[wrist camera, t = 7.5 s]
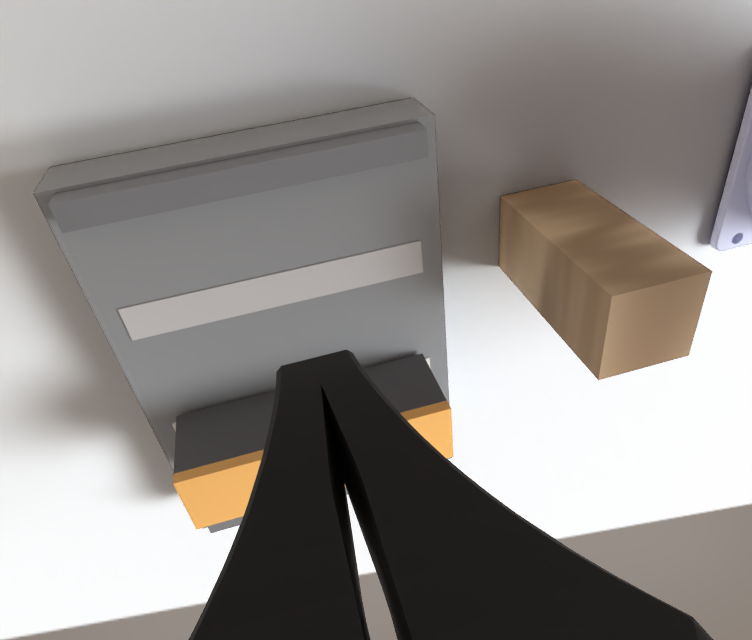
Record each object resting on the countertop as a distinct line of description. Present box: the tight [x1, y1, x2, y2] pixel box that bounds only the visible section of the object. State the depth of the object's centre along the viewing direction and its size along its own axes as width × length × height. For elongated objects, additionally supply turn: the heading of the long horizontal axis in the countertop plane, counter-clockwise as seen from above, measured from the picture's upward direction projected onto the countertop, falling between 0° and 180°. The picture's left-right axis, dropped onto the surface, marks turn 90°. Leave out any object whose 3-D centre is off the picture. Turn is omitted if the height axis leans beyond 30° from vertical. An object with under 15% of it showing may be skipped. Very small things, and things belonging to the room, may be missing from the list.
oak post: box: [499, 180, 712, 380], centre depth 19 cm, size 3×3×7 cm
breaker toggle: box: [173, 353, 453, 529], centre depth 20 cm, size 9×2×3 cm, turn 97°
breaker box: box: [33, 98, 452, 533], centre depth 20 cm, size 11×15×3 cm
